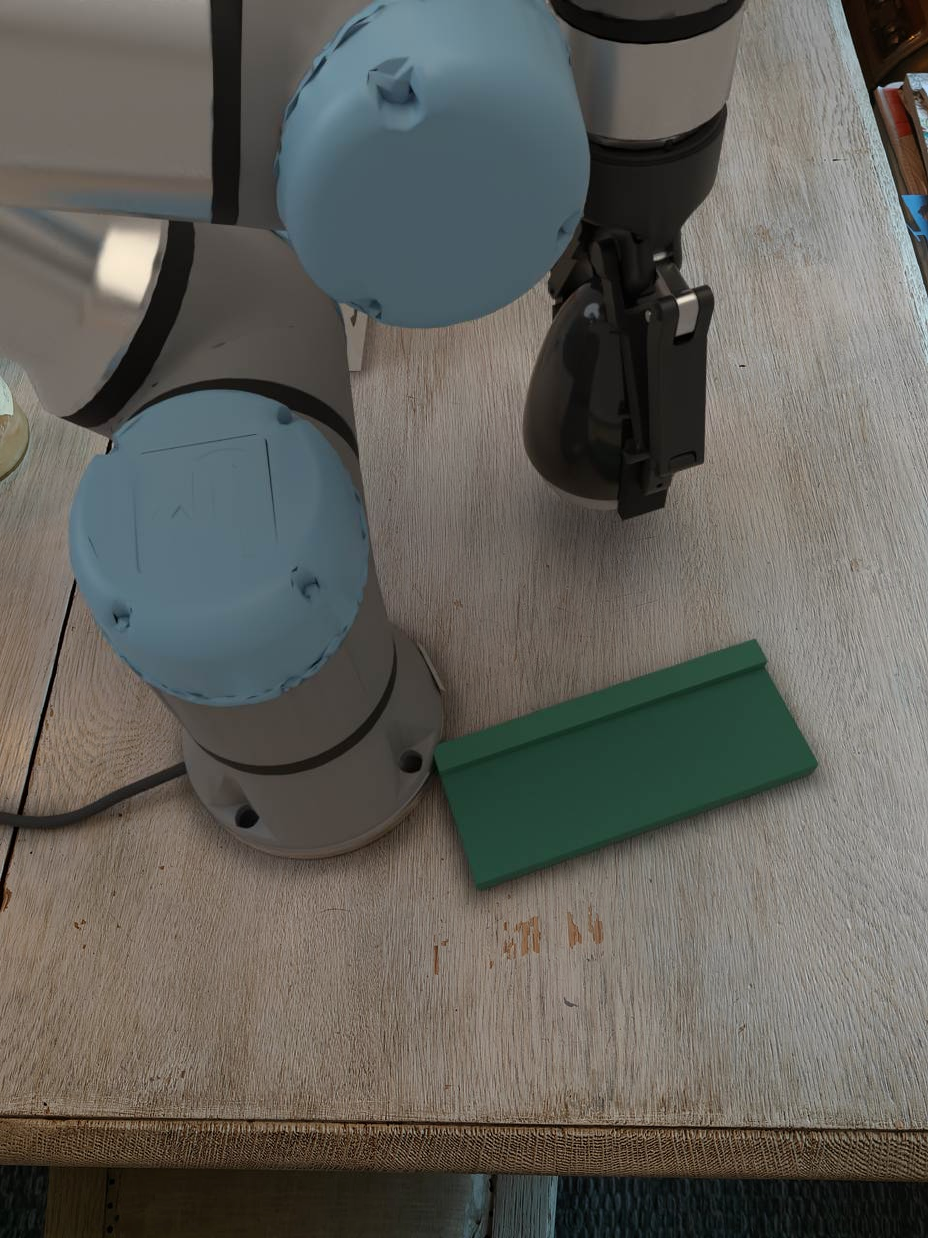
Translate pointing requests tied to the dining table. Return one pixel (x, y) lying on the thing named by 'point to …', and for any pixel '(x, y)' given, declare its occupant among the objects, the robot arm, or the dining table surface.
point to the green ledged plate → (619, 763)
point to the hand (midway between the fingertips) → (605, 442)
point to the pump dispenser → (580, 402)
